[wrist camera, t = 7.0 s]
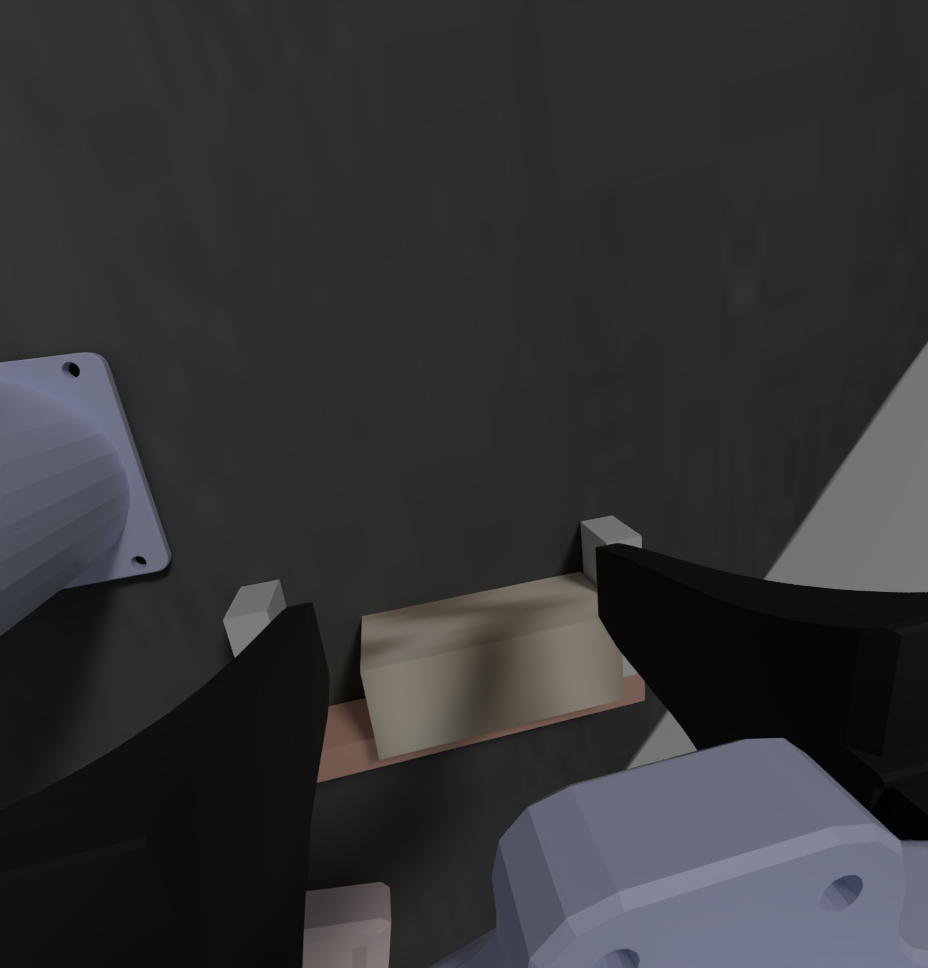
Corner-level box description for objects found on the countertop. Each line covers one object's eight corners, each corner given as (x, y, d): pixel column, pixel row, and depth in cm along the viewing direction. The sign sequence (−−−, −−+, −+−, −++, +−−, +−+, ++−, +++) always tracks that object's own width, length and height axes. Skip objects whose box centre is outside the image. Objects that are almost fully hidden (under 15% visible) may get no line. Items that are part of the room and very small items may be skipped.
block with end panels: (286, 744, 22) (276, 792, 19) (240, 586, 20) (222, 619, 17) (617, 665, 24) (644, 700, 22) (611, 515, 22) (641, 536, 19)
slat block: (378, 689, 22) (379, 759, 18) (362, 613, 21) (360, 671, 17) (583, 643, 24) (623, 699, 20) (578, 569, 22) (621, 613, 19)
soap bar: (201, 896, 24) (183, 956, 21) (389, 872, 25) (391, 925, 23) (207, 974, 25) (190, 1038, 23) (385, 946, 27) (386, 1002, 25)
